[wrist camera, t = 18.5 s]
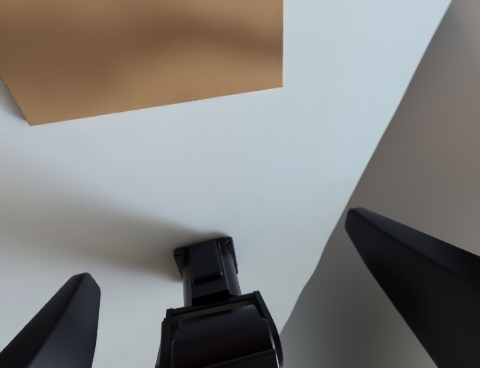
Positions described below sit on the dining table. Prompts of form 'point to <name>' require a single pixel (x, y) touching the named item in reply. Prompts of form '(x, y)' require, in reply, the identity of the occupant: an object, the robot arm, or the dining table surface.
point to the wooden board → (135, 53)
